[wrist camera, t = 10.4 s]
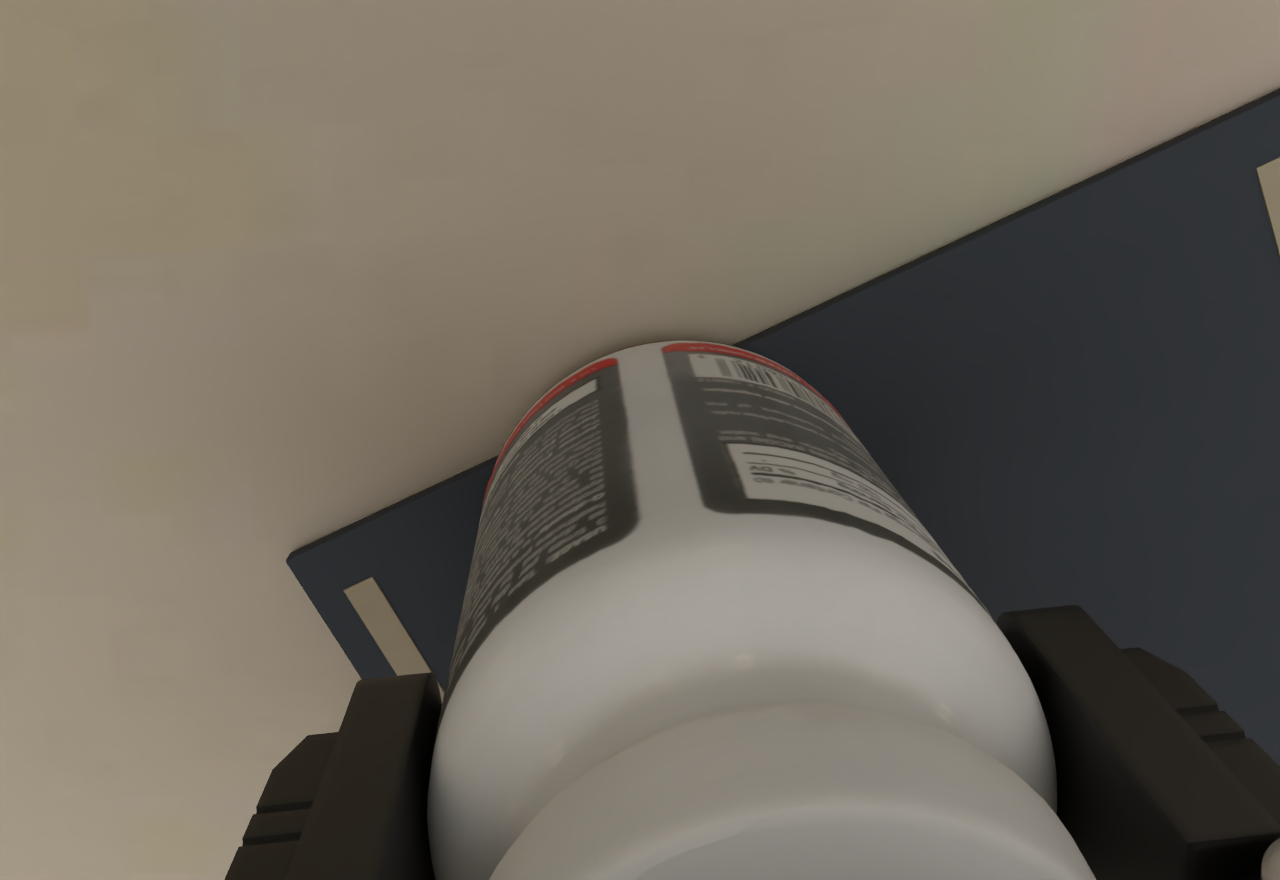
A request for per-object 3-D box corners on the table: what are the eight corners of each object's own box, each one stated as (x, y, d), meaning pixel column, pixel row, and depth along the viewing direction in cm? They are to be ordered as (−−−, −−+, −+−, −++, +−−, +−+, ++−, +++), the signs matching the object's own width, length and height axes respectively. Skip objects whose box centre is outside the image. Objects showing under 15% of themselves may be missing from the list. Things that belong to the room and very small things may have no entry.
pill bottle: (556, 724, 18) (524, 1484, 8) (429, 400, 16) (197, 899, 6) (904, 621, 17) (1285, 1288, 8) (815, 278, 15) (1174, 613, 6)
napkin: (289, 552, 17) (283, 561, 16) (1300, 78, 15) (1315, 79, 15) (716, 1214, 22) (718, 1233, 21) (1510, 909, 20) (1526, 923, 20)
